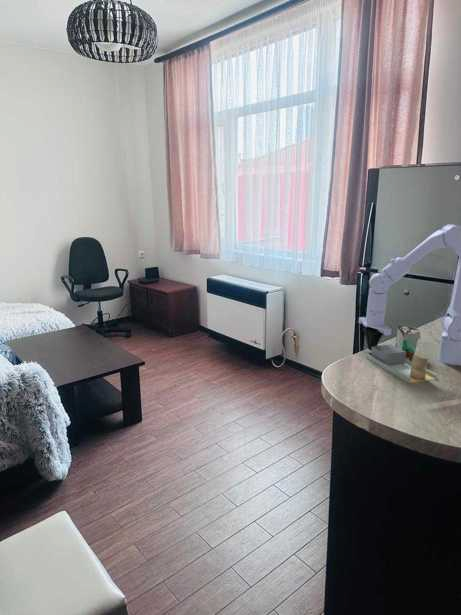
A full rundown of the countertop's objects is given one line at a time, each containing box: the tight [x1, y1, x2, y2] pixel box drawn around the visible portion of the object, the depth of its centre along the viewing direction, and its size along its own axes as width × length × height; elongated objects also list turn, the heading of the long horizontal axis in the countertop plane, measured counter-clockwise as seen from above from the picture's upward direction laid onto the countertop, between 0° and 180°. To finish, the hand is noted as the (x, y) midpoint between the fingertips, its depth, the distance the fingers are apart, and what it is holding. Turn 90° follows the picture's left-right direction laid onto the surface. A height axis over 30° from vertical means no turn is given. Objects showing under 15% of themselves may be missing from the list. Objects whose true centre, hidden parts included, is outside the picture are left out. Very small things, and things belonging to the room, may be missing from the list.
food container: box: [394, 323, 421, 360], centre depth 140 cm, size 12×6×10 cm, turn 169°
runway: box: [364, 353, 438, 384], centre depth 130 cm, size 10×20×2 cm, turn 19°
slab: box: [370, 344, 406, 366], centre depth 135 cm, size 8×7×4 cm
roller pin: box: [410, 354, 428, 380], centre depth 122 cm, size 4×4×6 cm
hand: (371, 349), depth 142 cm, fingers closed
